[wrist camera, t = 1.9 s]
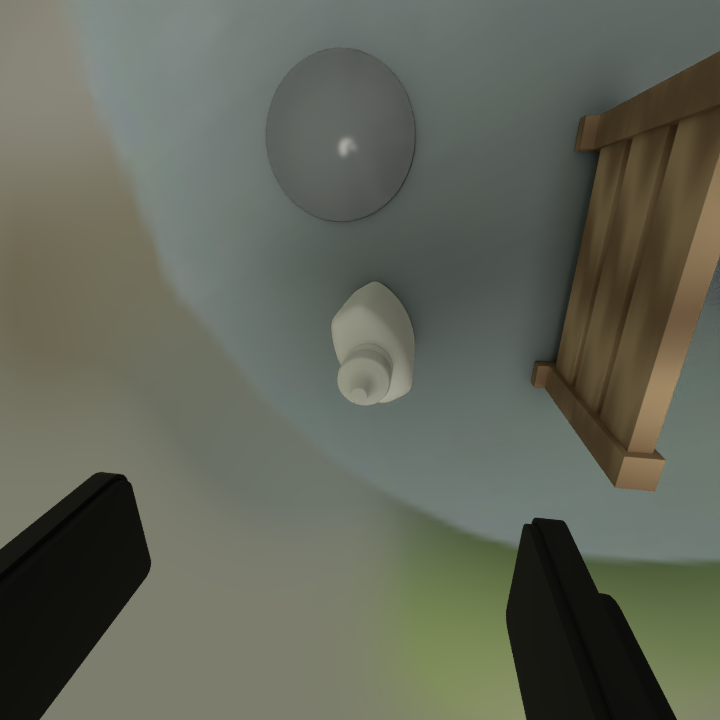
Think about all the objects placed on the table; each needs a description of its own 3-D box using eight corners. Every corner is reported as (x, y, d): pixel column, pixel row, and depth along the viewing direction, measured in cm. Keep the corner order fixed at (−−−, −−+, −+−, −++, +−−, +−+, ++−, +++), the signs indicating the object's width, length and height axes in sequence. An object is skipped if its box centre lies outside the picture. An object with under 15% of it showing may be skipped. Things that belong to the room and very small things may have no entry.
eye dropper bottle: (354, 356, 28) (312, 450, 17) (351, 280, 26) (301, 329, 15) (414, 358, 28) (410, 456, 17) (416, 279, 26) (413, 331, 15)
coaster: (263, 55, 22) (259, 51, 22) (420, 48, 21) (420, 44, 21) (274, 220, 26) (271, 220, 25) (410, 222, 24) (410, 222, 24)
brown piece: (580, 118, 21) (727, 33, 11) (639, 117, 21) (848, 28, 11) (531, 382, 27) (597, 485, 17) (576, 385, 27) (672, 493, 16)
